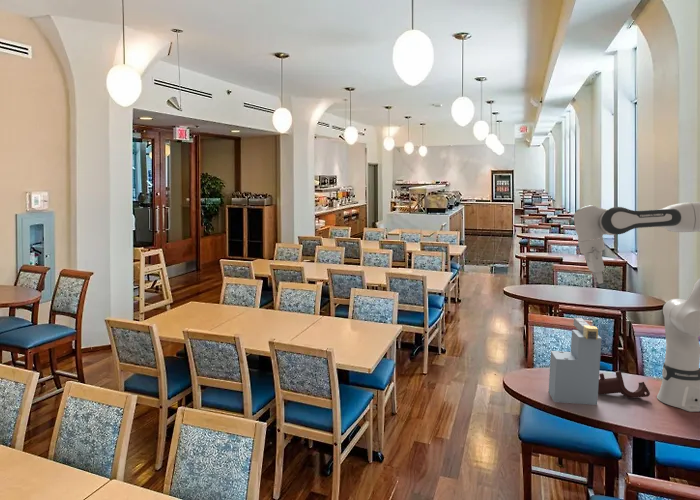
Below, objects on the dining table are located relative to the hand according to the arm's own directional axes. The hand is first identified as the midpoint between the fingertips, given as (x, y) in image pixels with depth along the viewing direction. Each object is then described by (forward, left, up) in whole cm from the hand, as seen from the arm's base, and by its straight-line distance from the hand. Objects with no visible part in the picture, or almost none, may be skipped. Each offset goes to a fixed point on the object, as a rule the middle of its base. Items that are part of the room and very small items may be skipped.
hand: (599, 282), depth 197 cm
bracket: (-11, -1, -46) cm, 47 cm away
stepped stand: (+9, +4, -45) cm, 46 cm away
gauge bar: (+5, +1, -19) cm, 20 cm away
